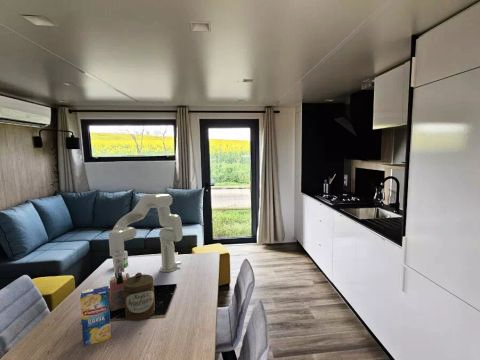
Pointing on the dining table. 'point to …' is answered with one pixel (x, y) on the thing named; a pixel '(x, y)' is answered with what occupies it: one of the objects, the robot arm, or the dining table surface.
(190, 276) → the dining table surface
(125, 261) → the ink box
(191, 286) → the dining table surface
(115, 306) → the shelf
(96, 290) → the beverage box
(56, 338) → the dining table surface
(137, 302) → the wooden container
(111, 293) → the salmon red block
